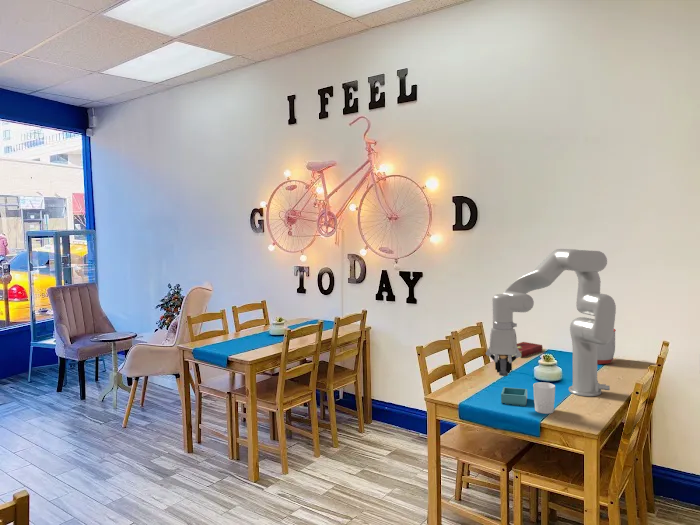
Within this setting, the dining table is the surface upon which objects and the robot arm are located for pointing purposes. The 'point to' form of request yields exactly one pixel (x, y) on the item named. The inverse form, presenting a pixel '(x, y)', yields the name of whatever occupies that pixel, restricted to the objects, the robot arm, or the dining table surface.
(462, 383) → the dining table surface
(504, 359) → the cell
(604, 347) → the citrus juicer
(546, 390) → the white cup
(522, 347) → the hardcover book
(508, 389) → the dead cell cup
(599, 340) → the robot arm
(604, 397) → the dining table surface
